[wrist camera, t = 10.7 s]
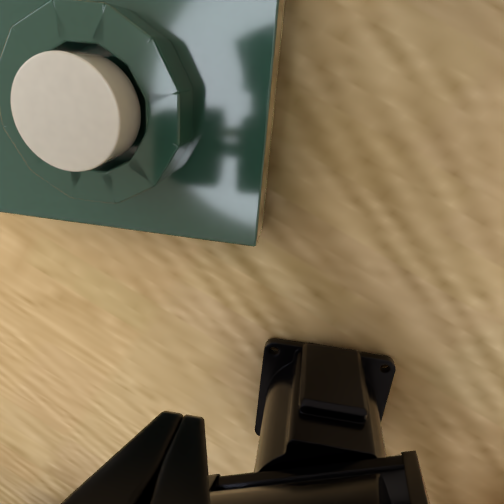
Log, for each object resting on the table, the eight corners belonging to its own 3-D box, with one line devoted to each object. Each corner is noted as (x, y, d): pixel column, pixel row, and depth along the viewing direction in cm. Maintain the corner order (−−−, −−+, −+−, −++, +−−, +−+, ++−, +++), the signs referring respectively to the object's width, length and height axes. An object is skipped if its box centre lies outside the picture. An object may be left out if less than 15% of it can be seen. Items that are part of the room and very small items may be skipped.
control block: (288, -29, 15) (278, -58, 12) (262, 228, 19) (249, 266, 16) (-19, -51, 16) (-114, -82, 13) (18, 196, 21) (-46, 225, 17)
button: (140, 56, 14) (116, 56, 12) (143, 166, 15) (122, 178, 14) (36, 46, 14) (0, 45, 13) (49, 155, 16) (18, 165, 14)
